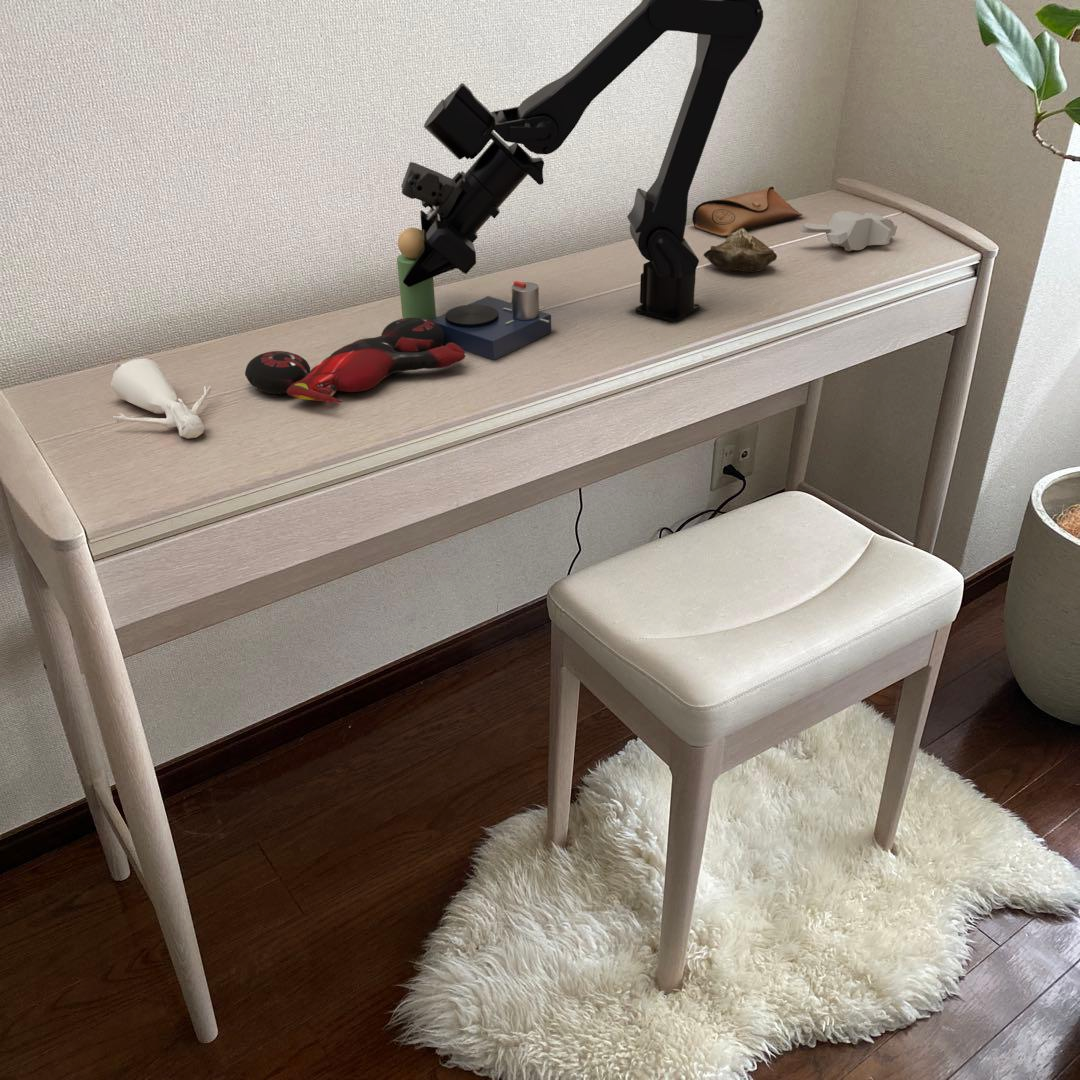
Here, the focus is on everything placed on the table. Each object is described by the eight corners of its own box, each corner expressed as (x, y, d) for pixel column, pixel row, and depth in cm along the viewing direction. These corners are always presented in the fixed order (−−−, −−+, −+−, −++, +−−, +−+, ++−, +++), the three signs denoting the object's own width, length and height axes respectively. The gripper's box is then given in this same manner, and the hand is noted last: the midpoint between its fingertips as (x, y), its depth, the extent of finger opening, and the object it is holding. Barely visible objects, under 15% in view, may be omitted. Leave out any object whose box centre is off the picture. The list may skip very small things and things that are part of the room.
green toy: (443, 324, 140) (436, 227, 133) (419, 334, 137) (411, 235, 130) (420, 317, 142) (412, 220, 135) (396, 327, 139) (386, 229, 132)
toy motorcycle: (241, 391, 126) (285, 422, 114) (232, 349, 124) (276, 375, 112) (429, 349, 138) (488, 373, 125) (424, 310, 135) (483, 330, 123)
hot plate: (567, 332, 137) (567, 312, 135) (503, 363, 129) (502, 342, 127) (496, 310, 144) (495, 291, 142) (430, 338, 136) (429, 319, 134)
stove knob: (544, 314, 135) (543, 283, 133) (527, 322, 133) (526, 290, 131) (524, 308, 137) (523, 277, 135) (507, 316, 135) (505, 285, 133)
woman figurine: (171, 338, 125) (243, 396, 115) (177, 372, 128) (249, 432, 117) (73, 366, 119) (140, 430, 108) (82, 401, 122) (149, 467, 111)
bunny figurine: (914, 219, 160) (842, 224, 153) (905, 253, 163) (835, 260, 156) (868, 205, 167) (797, 209, 160) (860, 237, 170) (791, 243, 163)
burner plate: (509, 315, 135) (509, 312, 135) (473, 332, 131) (472, 328, 131) (471, 304, 139) (470, 300, 139) (434, 319, 135) (433, 315, 134)
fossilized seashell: (696, 258, 152) (763, 278, 150) (713, 213, 151) (780, 233, 149) (704, 270, 159) (768, 289, 157) (720, 227, 159) (784, 246, 156)
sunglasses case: (727, 235, 167) (715, 194, 166) (699, 248, 173) (687, 208, 172) (806, 214, 175) (795, 175, 175) (777, 227, 182) (766, 189, 181)
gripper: (433, 123, 135) (355, 215, 140) (441, 158, 119) (354, 260, 124) (497, 182, 140) (420, 269, 145) (513, 224, 125) (426, 319, 130)
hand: (405, 278), depth 136 cm, fingers closed on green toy, 4 cm apart
